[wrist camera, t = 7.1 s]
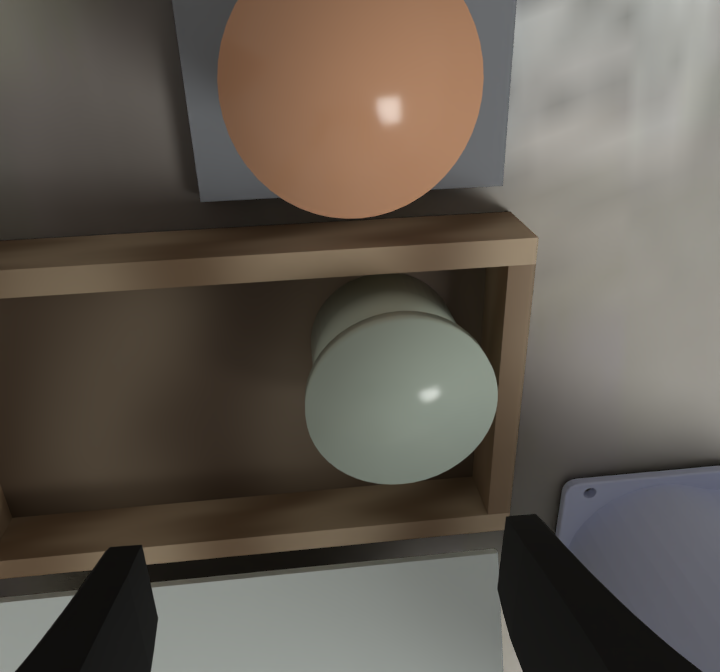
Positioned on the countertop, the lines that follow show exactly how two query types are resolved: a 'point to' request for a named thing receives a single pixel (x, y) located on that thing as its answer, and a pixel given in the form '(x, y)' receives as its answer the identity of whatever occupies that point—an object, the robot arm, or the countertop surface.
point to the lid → (309, 618)
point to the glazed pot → (395, 382)
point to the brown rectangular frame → (228, 388)
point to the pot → (350, 98)
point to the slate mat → (236, 181)
